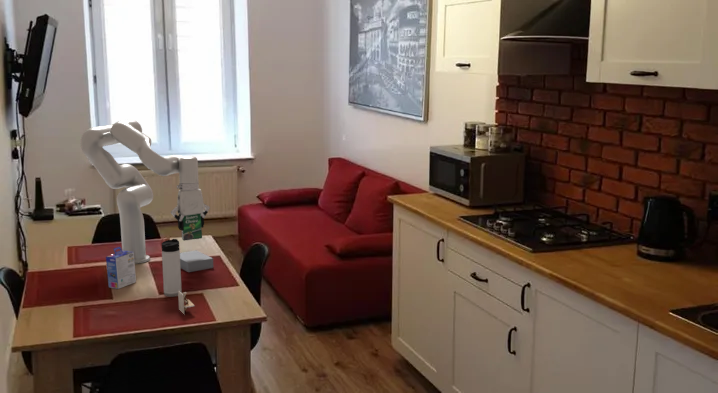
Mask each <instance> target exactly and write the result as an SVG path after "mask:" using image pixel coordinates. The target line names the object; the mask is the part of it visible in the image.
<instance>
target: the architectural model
mask: <svg viewBox="0 0 718 393" xmlns="http://www.w3.org/2000/svg"><path fill="white" fill-rule="evenodd" d="M186 295H187V292H186V291H185V292H182V293H181V292H180V291H178V296H177V297H178V311H179V310H180V311H181V312H182V313H183V314H184V315H185V311H187V309H188V308H191V307H195V304H194V303H193V302H192V301H191V300H190V299H187V298H186ZM180 311H179V312H180ZM181 312H180V313H181ZM182 313H181V314H182ZM183 314H182V315H183Z"/></svg>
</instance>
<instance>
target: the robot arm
mask: <svg viewBox="0 0 718 393" xmlns="http://www.w3.org/2000/svg"><path fill="white" fill-rule="evenodd" d="M116 144H117V145H118V144H121V145H123V146H124V147H126V148H128V150H130V151H132V152H133V153H135V155H137V156H138V159H139V160H140V162H141V163H142V165H143V166H145V167H146V168H147V169H148V170H150V171H151V172H153V173H155V174H157V175H158V176H162V177H167V176H170V175H174V174H178V176H179V184H178V185H176V189H177V190H178V189H179V190H178V193H177V202H176V203H177V204H176V206H175V207H174V208H173V209H172V210H171V211H170V214H171V215H172V216H173V218H174V219H175V220H176V221H177V228H178V229H179V231H180V232H182V231H183V230H184V223H183V221H182V219H183V218H184V216H187V215H195V214H201V227H202V228H204V227H205V226H204V225H205V218H206V216H207V215H208V212H209V210H210V209H211V207H210V205H207V204H205V203H204V197H203V191H202V189H201V188H200V186H199V183H200V182H199V162H198V158H197V157H196V156H193V155H189V156H188V155H187V156H184V155H179V154H172V155H171V154H170V155H166V156H162V155H160V154H158V152H156V151H154V150H153V149H152V148H151V145H152V139H151V138H150V137H149V136H148V135H147V134H145V133H143V128H142V125H141V124H140V122H138V121H136V120H133V119H125V120H120V121H116V122H115V123H113V124H107V125H100V126H99V125H98V126H93V127H90V128H87V129H86V130H85V131H84V132H83V133H82V135H81V138H80V147H81V151H82V154H83V155H84V156H85V157H86V159H87V160H88V161H89V162H90V164H92V166H93V167H94V168H95V169H96V172H98V174H99V175H100V176H101V178H102V179H103V181H104V182H105V184H106V185H107V186H108V187H109V189H110V188H111V189H113V190H119V189H122V188H123V189H122V190H120V191H118V194H117V195H116V205H117V209H118V212H119V223H120V224H119V225H120V236H121V238H120V239H121V249H122V251H131V252H134V262H135V265H136V264H137V265H138V264H144V263H146V262H148V261H150V259H151V256H150V255H148V254H146V252H147V251H146V236H145V235H146V234H145V233H146V232H145V219H144V215H143V212H142V210H141V209H142V207H145V206H148V205H149V204H151V203H152V201H153V199H154V192H153V189H152V188H151V186H150V184H149V183H148V181H147V180H146V179H145V178H144V176H143V174H141V172H140V171H139V170H138V168H137V167H135V166H133V165H132V164H130V163H123V164H119V162H117V161H116V159H115V157H114V156H113V155H112V154H111V153H110V152H109V151H108V150H106V149H105V148H104V147H106V146H112V145H116ZM177 213H178V215H177ZM113 254H114V253H112V254H110V255H113Z"/></svg>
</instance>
